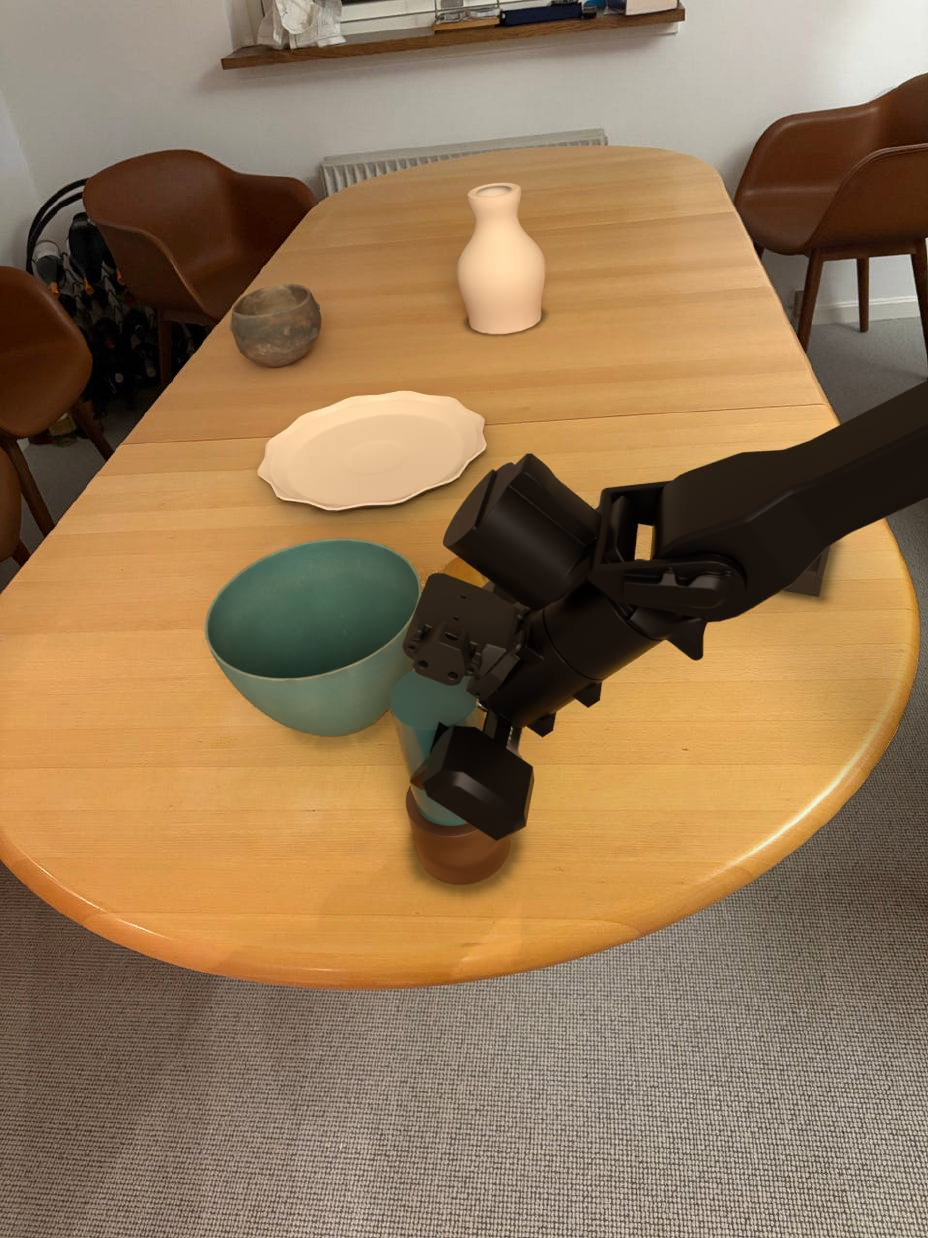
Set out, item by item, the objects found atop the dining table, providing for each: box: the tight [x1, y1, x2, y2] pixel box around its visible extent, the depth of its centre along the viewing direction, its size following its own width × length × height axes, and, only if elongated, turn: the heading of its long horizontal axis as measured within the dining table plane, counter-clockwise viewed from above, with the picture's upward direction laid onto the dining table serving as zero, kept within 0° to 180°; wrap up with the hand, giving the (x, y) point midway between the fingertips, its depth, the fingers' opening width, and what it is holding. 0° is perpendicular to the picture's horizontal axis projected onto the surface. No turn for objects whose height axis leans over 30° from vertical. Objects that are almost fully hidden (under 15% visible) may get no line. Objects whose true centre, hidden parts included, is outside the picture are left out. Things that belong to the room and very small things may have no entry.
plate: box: [256, 390, 488, 513], centre depth 114 cm, size 29×29×2 cm
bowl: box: [229, 283, 322, 368], centre depth 140 cm, size 14×15×10 cm
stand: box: [405, 785, 512, 886], centre depth 66 cm, size 7×7×6 cm
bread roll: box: [441, 556, 490, 588], centre depth 90 cm, size 8×9×4 cm
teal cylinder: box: [389, 669, 486, 826], centre depth 60 cm, size 6×6×10 cm
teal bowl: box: [204, 537, 423, 738], centre depth 77 cm, size 18×18×12 cm
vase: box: [456, 182, 547, 335], centre depth 139 cm, size 14×14×20 cm
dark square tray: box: [781, 544, 833, 598], centre depth 88 cm, size 9×9×2 cm
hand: (427, 747), depth 61 cm, fingers closed on teal cylinder, 6 cm apart
